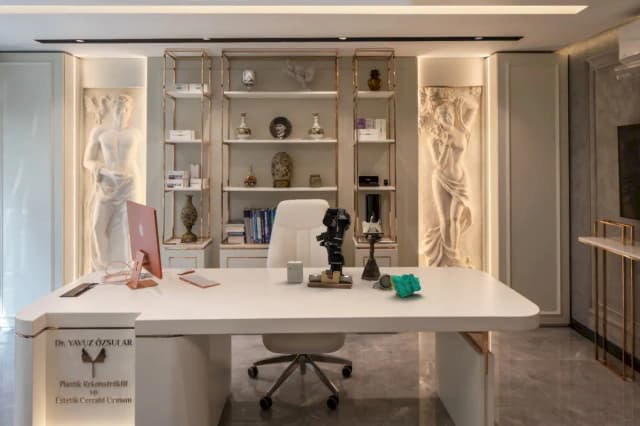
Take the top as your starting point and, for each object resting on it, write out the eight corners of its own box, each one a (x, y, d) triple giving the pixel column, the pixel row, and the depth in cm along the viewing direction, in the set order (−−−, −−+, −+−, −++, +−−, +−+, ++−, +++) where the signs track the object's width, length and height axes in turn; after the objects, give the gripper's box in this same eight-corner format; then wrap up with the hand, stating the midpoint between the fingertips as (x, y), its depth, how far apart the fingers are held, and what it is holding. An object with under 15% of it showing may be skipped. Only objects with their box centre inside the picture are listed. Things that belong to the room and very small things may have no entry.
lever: (328, 276, 254) (325, 269, 244) (333, 276, 253) (331, 269, 244) (327, 279, 253) (325, 273, 243) (333, 280, 253) (331, 273, 243)
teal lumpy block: (389, 276, 241) (414, 265, 238) (400, 299, 238) (424, 288, 235) (385, 277, 227) (411, 265, 224) (396, 300, 224) (422, 289, 221)
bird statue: (386, 282, 259) (387, 216, 257) (361, 282, 260) (362, 216, 258) (384, 276, 276) (385, 214, 273) (361, 275, 277) (361, 214, 274)
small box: (303, 280, 264) (303, 261, 263) (302, 282, 259) (302, 263, 258) (288, 280, 265) (288, 260, 264) (287, 282, 259) (286, 262, 259)
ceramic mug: (392, 285, 252) (391, 271, 251) (393, 289, 244) (393, 274, 243) (372, 285, 252) (371, 271, 252) (373, 289, 244) (373, 274, 244)
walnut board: (311, 282, 260) (311, 279, 260) (352, 283, 257) (352, 280, 257) (307, 286, 248) (307, 284, 248) (350, 288, 245) (350, 285, 245)
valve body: (310, 280, 256) (310, 270, 256) (352, 282, 253) (352, 271, 253) (308, 282, 252) (308, 271, 252) (351, 283, 249) (351, 273, 248)
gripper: (312, 230, 272) (309, 258, 269) (324, 225, 255) (322, 255, 252) (330, 232, 276) (328, 260, 273) (344, 228, 259) (342, 257, 256)
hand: (329, 258), depth 264 cm, fingers closed
